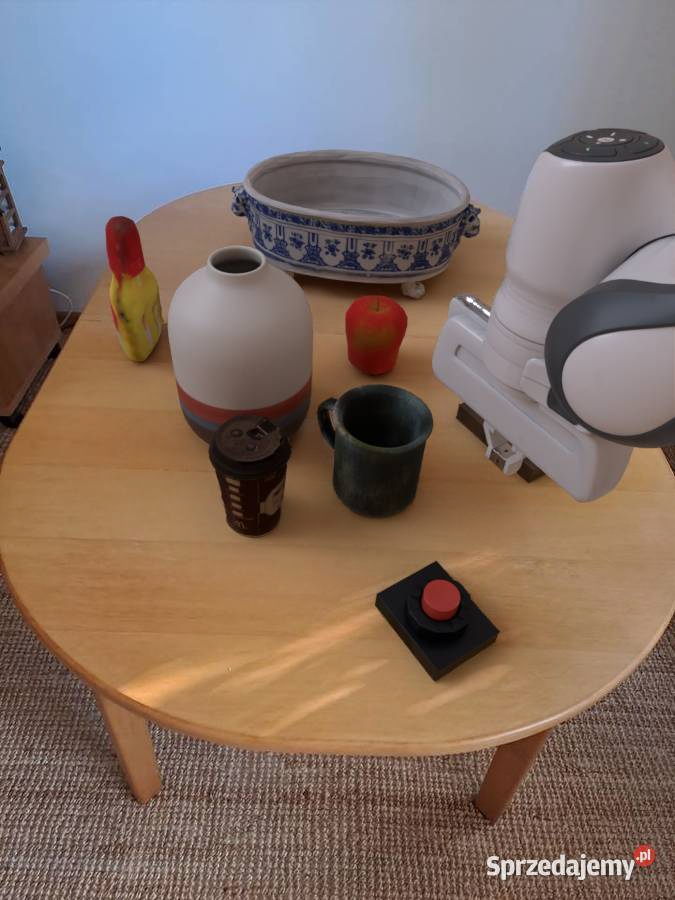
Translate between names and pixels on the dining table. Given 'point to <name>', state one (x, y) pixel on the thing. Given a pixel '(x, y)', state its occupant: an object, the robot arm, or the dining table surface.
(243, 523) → the coffee cup
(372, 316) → the apple
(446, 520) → the dining table surface
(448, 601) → the red button
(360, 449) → the mug
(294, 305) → the vase
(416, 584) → the button box
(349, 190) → the decorative bowl
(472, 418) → the dark flat block
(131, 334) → the bottle
